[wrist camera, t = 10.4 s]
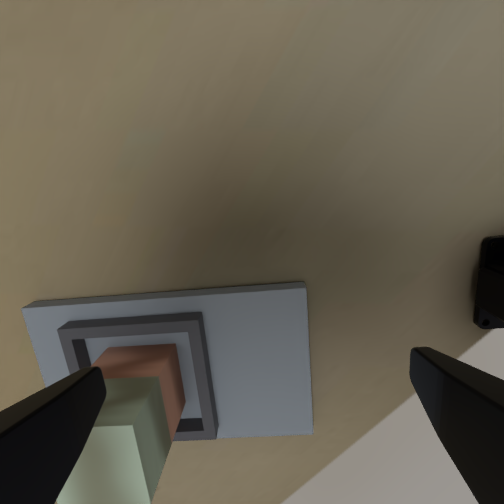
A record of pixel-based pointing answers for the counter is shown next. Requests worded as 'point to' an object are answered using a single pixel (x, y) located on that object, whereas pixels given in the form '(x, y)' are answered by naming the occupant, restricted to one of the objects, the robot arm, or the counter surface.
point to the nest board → (197, 351)
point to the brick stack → (129, 427)
